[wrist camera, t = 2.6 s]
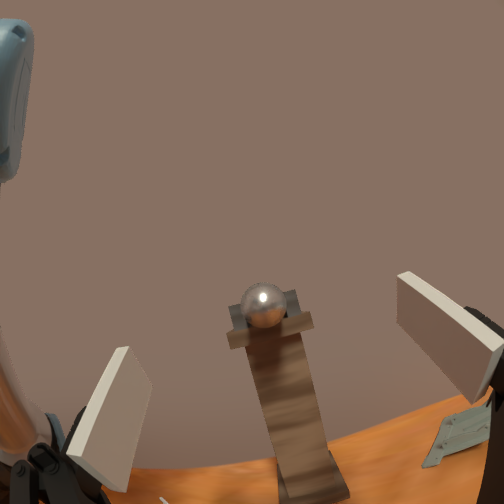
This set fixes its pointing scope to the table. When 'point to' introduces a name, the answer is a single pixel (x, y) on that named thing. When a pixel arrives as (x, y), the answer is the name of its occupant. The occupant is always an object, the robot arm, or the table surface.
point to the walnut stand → (290, 405)
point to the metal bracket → (460, 433)
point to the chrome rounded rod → (263, 305)
